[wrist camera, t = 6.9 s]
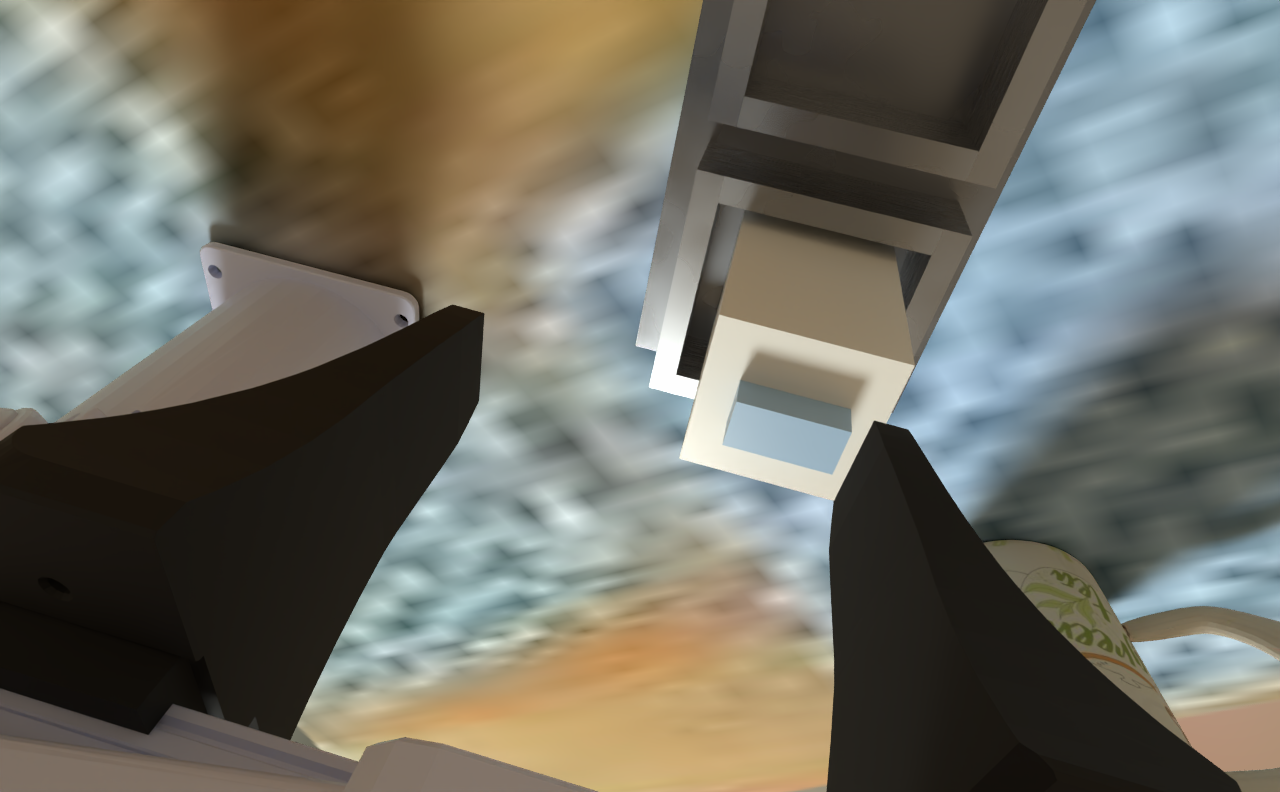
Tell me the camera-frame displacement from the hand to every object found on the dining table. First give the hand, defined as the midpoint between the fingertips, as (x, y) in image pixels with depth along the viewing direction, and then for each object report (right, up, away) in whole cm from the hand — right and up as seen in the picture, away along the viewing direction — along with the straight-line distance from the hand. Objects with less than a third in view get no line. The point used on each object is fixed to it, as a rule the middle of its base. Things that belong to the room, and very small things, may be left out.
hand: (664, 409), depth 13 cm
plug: (+4, +4, +8) cm, 10 cm away
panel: (+5, +7, +6) cm, 11 cm away
